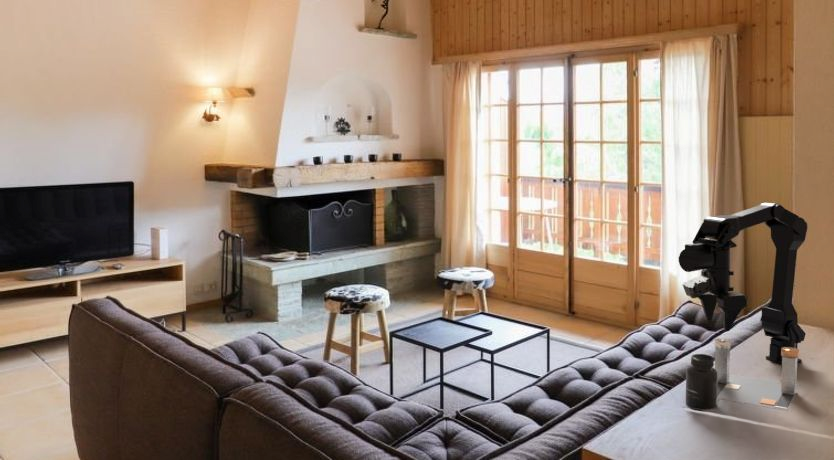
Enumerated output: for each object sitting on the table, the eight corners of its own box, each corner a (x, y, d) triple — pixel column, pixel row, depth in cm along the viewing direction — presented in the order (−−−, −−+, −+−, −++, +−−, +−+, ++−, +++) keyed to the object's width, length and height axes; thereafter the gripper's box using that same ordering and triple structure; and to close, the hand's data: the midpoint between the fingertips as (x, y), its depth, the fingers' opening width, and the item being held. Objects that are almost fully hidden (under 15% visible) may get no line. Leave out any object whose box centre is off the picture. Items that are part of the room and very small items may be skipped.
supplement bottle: (683, 409, 163) (684, 359, 161) (687, 399, 169) (688, 350, 167) (715, 414, 160) (716, 363, 158) (718, 403, 166) (719, 354, 164)
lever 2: (781, 388, 171) (783, 346, 169) (798, 391, 169) (799, 348, 167) (778, 393, 168) (780, 350, 166) (795, 396, 166) (797, 352, 164)
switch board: (722, 375, 184) (722, 372, 183) (800, 387, 173) (800, 384, 173) (703, 397, 169) (703, 394, 169) (787, 413, 159) (787, 409, 159)
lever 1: (716, 377, 180) (717, 337, 178) (731, 380, 177) (732, 339, 176) (712, 382, 177) (713, 341, 175) (727, 384, 175) (728, 343, 173)
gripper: (670, 261, 187) (671, 318, 190) (704, 276, 169) (704, 339, 171) (711, 258, 188) (711, 315, 190) (749, 273, 170) (748, 335, 172)
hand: (717, 325), depth 181 cm, fingers open, 9 cm apart
